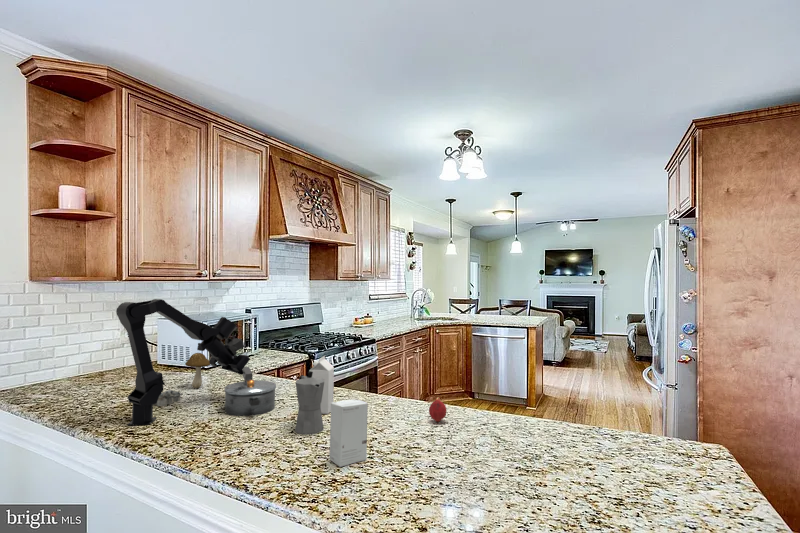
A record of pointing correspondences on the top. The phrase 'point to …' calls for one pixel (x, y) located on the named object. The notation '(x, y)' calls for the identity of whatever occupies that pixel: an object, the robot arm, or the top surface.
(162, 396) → the egg carton
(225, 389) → the pot lid
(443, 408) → the onion
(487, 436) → the top surface
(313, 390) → the coffeepot
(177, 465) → the top surface
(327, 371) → the milk carton
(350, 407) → the skincare box
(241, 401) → the cooking pot
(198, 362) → the mushroom
